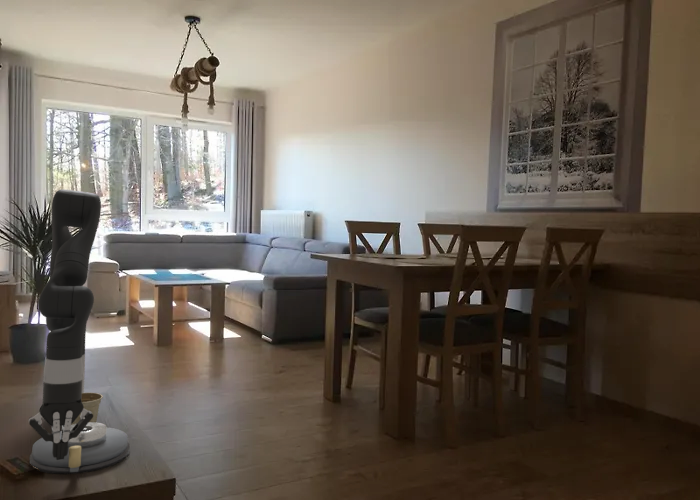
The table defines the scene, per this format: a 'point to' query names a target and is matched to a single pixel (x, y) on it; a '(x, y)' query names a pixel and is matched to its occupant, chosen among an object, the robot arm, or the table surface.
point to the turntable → (82, 451)
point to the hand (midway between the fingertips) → (59, 458)
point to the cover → (89, 435)
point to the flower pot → (90, 405)
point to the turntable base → (81, 468)
